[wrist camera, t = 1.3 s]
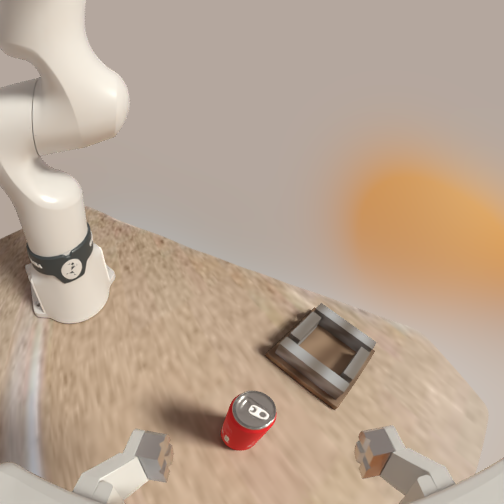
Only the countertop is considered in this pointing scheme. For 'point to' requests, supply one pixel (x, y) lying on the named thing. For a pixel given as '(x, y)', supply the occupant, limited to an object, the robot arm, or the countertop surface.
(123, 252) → the countertop surface
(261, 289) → the countertop surface
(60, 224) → the robot arm
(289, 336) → the socket block
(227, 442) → the beverage can
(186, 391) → the countertop surface
